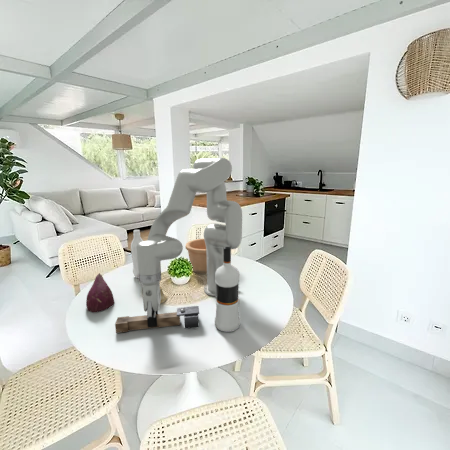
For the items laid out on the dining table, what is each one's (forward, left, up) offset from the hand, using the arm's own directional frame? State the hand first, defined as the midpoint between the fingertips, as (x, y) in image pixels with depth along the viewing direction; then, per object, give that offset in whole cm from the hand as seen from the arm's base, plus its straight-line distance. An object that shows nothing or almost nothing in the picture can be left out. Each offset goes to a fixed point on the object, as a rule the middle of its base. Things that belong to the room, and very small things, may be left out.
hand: (153, 322), depth 91 cm
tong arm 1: (+1, +1, -1) cm, 2 cm away
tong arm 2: (+1, -1, -1) cm, 2 cm away
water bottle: (+11, -45, -2) cm, 47 cm away
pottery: (-24, -50, -2) cm, 55 cm away
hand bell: (0, -19, -2) cm, 19 cm away
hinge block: (-13, 0, -1) cm, 13 cm away
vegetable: (+23, -18, -2) cm, 30 cm away
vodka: (-27, +4, -2) cm, 27 cm away
